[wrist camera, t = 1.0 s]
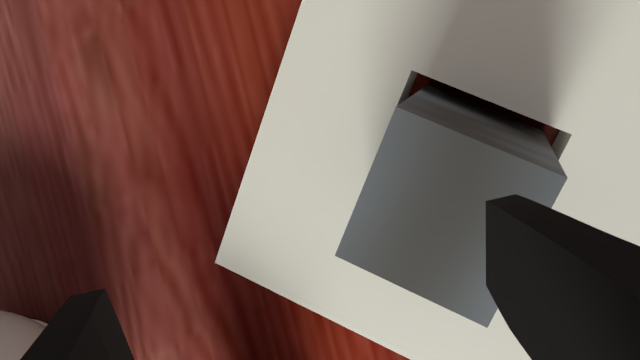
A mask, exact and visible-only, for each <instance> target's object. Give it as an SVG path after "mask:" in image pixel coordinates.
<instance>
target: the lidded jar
mask: <svg viewBox="0 0 640 360" xmlns="http://www.w3.org/2000/svg"><path fill="white" fill-rule="evenodd" d="M47 325H48V323H46V322H43V321H40V320H37V319H31V318H27V317H24V316H21V315H18V314H15V313H12V312H7V311H1V310H0V360H20V359H21V358H22V356H23V355H24V354H25V353H26V351H27V350H28V349H29V348H30V346H31V345H32V344H33V343H34V341H35V340H36V339H37V338H38V336H39V335H40V334H41V332H42V331H43V330H44V329H45V327H46V326H47Z"/></svg>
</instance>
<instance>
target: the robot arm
mask: <svg viewBox="0 0 640 360" xmlns="http://www.w3.org/2000/svg"><path fill="white" fill-rule="evenodd" d="M486 286H487V288H488V290H489V292H490V294H491V296H492V298H493V300H494V302H495V303H496V305H497V307H498V309H499V311H500V313H501V315H502V316H503V318H504V320H505V322H506V323H507V325H508V327H509V329H510V330H511V332H512V333H513V334H514V336H515V337H516V339H517V340H518V342H519V343H520V344H521V346H522V347H523V348H524V350H525V351H526V353H527V354H528V355H529V357H530V358H531V360H640V246H638V245H636V244H633V243H631V242H628V241H626V240H623V239H621V238H618V237H616V236H614V235H611V234H609V233H606V232H604V231H602V230H599V229H597V228H595V227H592V226H590V225H588V224H586V223H583V222H581V221H579V220H576V219H574V218H572V217H570V216H567V215H565V214H563V213H561V212H558V211H556V210H554V209H551V208H549V207H547V206H544V205H542V204H540V203H537V202H535V201H533V200H530V199H528V198H525V197H522V196H520V195H517V194H514V195H509V196H505V197H501V198H496V199H492V200H488V201H486ZM20 360H134V358H133V355H132V353H131V350H130V348H129V346H128V343H127V341H126V338H125V336H124V333H123V331H122V328H121V326H120V324H119V321H118V319H117V316H116V314H115V311H114V309H113V307H112V304H111V302H110V299H109V297H108V294H107V292H106V289H101V290H97V291H93V292H88V293H84V294H79V295H75V296H71V297H70V298H69V299H68V300H67V301H66V303H65V304H64V305H63V306H62V307H61V308H60V310H59V311H58V312H57V313H56V315H55V316H54V317H53V318H52V320H51V321H50V322H49V324H48V325H47V326H46V327H45V329H44V330H43V331H42V332H41V334H40V335H39V336H38V338H37V339H36V340H35V341H34V343H33V344H32V345H31V346H30V348H29V349H28V350H27V351H26V353H25V354H24V355H23V356H22V358H21V359H20Z"/></svg>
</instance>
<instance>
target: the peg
mask: <svg viewBox="0 0 640 360" xmlns="http://www.w3.org/2000/svg"><path fill="white" fill-rule="evenodd" d="M566 180H567V176H566V174H565V172H564V170H563V168H562V166H561V164H560V163H559V161H558V159H557V157H556V155H555V153H554V151H553V149H552V147H551V146H550V144H549V142H548V140H547V138H546V136H545V134H544V132H543V131H542V130H539V129H537V128H534V127H532V126H530V125H527V124H525V123H522V122H520V121H517V120H515V119H512V118H510V117H507V116H505V115H502V114H500V113H497V112H495V111H492V110H490V109H487V108H485V107H483V106H480V105H478V104H475V103H473V102H470V101H468V100H465V99H463V98H460V97H458V96H455V95H453V94H450V93H448V92H445V91H443V90H441V89H438V88H436V87H433V86H431V85H426V86H425V87H424V88H422V89H421V90H419V91H418V92H416V93H415V94H413V95H412V96H410V97H409V98H408V99H406V100H405V101H403V102H402V103H400V104H399V105H397V106H396V107H395V110H394V112H393V115H392V117H391V120H390V122H389V124H388V127H387V129H386V132H385V134H384V137H383V139H382V142H381V144H380V146H379V149H378V151H377V154H376V156H375V159H374V161H373V163H372V166H371V168H370V171H369V173H368V176H367V178H366V181H365V183H364V185H363V188H362V190H361V193H360V195H359V198H358V200H357V202H356V205H355V207H354V210H353V212H352V215H351V217H350V220H349V222H348V224H347V227H346V229H345V232H344V234H343V237H342V239H341V241H340V244H339V246H338V249H337V251H336V254H335V256H336V257H338V258H341V259H343V260H345V261H347V262H349V263H351V264H353V265H355V266H357V267H360V268H362V269H364V270H366V271H368V272H370V273H372V274H374V275H376V276H379V277H381V278H383V279H385V280H387V281H389V282H391V283H393V284H395V285H398V286H400V287H402V288H404V289H406V290H408V291H410V292H412V293H414V294H417V295H419V296H421V297H423V298H425V299H427V300H429V301H431V302H433V303H436V304H438V305H440V306H442V307H444V308H446V309H448V310H450V311H452V312H455V313H457V314H459V315H461V316H463V317H465V318H467V319H469V320H472V321H474V322H476V323H478V324H480V325H482V326H484V327H486V328H488V326H489V324H490V322H491V320H492V318H493V317H494V315H495V313H496V311H497V309H498V307H497V305H496V303H495V302H494V300H493V298H492V296H491V294H490V292H489V290H488V288H487V286H486V201H488V200H492V199H496V198H501V197H505V196H509V195H514V194H517V195H520V196H522V197H525V198H528V199H530V200H533V201H535V202H537V203H540V204H542V205H544V206H547V207H549V208H552V206H553V204H554V203H555V201H556V199H557V197H558V195H559V193H560V191H561V189H562V188H563V186H564V184H565V182H566Z"/></svg>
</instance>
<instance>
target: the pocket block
mask: <svg viewBox="0 0 640 360" xmlns="http://www.w3.org/2000/svg"><path fill="white" fill-rule="evenodd" d="M418 73H420V74H422V75H425V76H427V77H430V78H432V79H435V80H437V81H440V82H442V83H445V84H447V85H450V86H452V87H455V88H457V89H460V90H462V91H465V92H467V93H470V94H472V95H475V96H477V97H480V98H482V99H485V100H487V101H490V102H492V103H495V104H497V105H499V106H502V107H504V108H507V109H509V110H512V111H514V112H517V113H519V114H522V115H524V116H527V117H529V118H532V119H534V120H537V121H539V122H542V123H544V124H547V125H549V126H552V127H554V128H557V129H559V130H560V131H559V133H558V135H557V136H556V138H555V140H554V142H553V144H552V146H551V147H552V149H553V151H554V153H555V155H556V157H557V159H558V161H559V163H560V164H561V166H562V168H563V170H564V172H565V174H566V176H567V180H566V182H565V184H564V186H563V188H562V189H561V191H560V193H559V195H558V197H557V199H556V201H555V203H554V204H553V206H552V208H551V209H554V210H556V211H558V212H561V213H563V214H565V215H567V216H570V217H572V218H574V219H576V220H579V221H581V222H583V223H586V224H588V225H590V226H592V227H595V228H597V229H599V230H602V231H604V232H606V233H609V234H611V235H614V236H616V237H618V238H621V239H623V240H626V241H628V242H631V243H633V244H636V245H638V246H640V0H302V2H301V5H300V8H299V11H298V14H297V17H296V20H295V23H294V26H293V29H292V32H291V35H290V38H289V41H288V44H287V47H286V50H285V53H284V56H283V59H282V62H281V65H280V68H279V71H278V74H277V77H276V80H275V83H274V86H273V89H272V92H271V95H270V98H269V101H268V104H267V107H266V110H265V113H264V116H263V119H262V122H261V125H260V128H259V131H258V134H257V137H256V140H255V143H254V146H253V149H252V152H251V155H250V158H249V161H248V164H247V167H246V170H245V173H244V176H243V179H242V182H241V185H240V188H239V191H238V195H237V198H236V201H235V204H234V207H233V210H232V213H231V216H230V219H229V222H228V225H227V228H226V231H225V234H224V237H223V240H222V243H221V246H220V249H219V252H218V255H217V258H216V261H215V263H217V264H219V265H221V266H223V267H225V268H227V269H229V270H231V271H233V272H235V273H237V274H239V275H241V276H243V277H245V278H247V279H249V280H251V281H253V282H255V283H257V284H259V285H261V286H263V287H265V288H267V289H269V290H271V291H273V292H275V293H277V294H279V295H281V296H283V297H285V298H287V299H289V300H291V301H293V302H295V303H297V304H299V305H302V306H304V307H306V308H308V309H310V310H312V311H314V312H316V313H318V314H320V315H322V316H324V317H326V318H328V319H330V320H332V321H334V322H336V323H338V324H340V325H342V326H344V327H346V328H348V329H350V330H352V331H354V332H356V333H358V334H360V335H362V336H364V337H366V338H368V339H370V340H372V341H374V342H376V343H378V344H380V345H382V346H384V347H386V348H388V349H390V350H392V351H394V352H396V353H398V354H400V355H402V356H404V357H406V358H408V359H411V360H531V358H530V357H529V355H528V354H527V353H526V351H525V350H524V348H523V347H522V346H521V344H520V343H519V342H518V340H517V339H516V337H515V336H514V334H513V333H512V332H511V330H510V329H509V327H508V325H507V323H506V322H505V320H504V318H503V316H502V315H501V313H500V311H499V309H497V311H496V313H495V315H494V317H493V318H492V320H491V322H490V324H489V326H488V328H486V327H484V326H482V325H480V324H478V323H476V322H474V321H472V320H469V319H467V318H465V317H463V316H461V315H459V314H457V313H455V312H452V311H450V310H448V309H446V308H444V307H442V306H440V305H438V304H436V303H433V302H431V301H429V300H427V299H425V298H423V297H421V296H419V295H417V294H414V293H412V292H410V291H408V290H406V289H404V288H402V287H400V286H398V285H395V284H393V283H391V282H389V281H387V280H385V279H383V278H381V277H379V276H376V275H374V274H372V273H370V272H368V271H366V270H364V269H362V268H360V267H357V266H355V265H353V264H351V263H349V262H347V261H345V260H343V259H341V258H338V257H336V256H335V254H336V251H337V249H338V246H339V244H340V241H341V239H342V237H343V234H344V232H345V229H346V227H347V224H348V222H349V220H350V217H351V215H352V212H353V210H354V207H355V205H356V202H357V200H358V198H359V195H360V193H361V190H362V188H363V185H364V183H365V181H366V178H367V176H368V173H369V171H370V168H371V166H372V163H373V161H374V159H375V156H376V154H377V151H378V149H379V146H380V144H381V142H382V139H383V137H384V134H385V132H386V129H387V127H388V124H389V122H390V120H391V117H392V115H393V112H394V110H395V107H396V106H397V105H399V104H400V103H402V102H403V101H405V100H406V99H407V98H408V96H409V93H410V91H411V89H412V86H413V84H414V81H415V79H416V77H417V74H418Z"/></svg>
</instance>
